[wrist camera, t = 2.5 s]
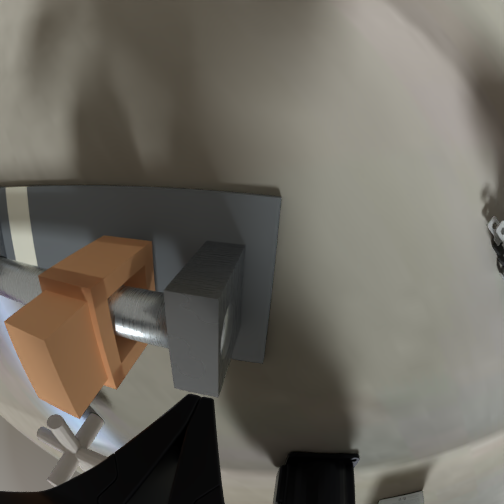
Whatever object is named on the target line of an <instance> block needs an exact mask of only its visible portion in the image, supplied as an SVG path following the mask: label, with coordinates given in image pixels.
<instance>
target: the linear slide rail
mask: <svg viewBox="0 0 504 504" xmlns="http://www.w3.org/2000/svg"><path fill="white" fill-rule="evenodd" d="M245 250H246V245H241V244H233V243H224V242H215V241H206V242H205V243H204V244H203V245H202V246H201V248H200V249H199V250H198V251H197V252H196V253H195V254H194V256H193V257H192V258H191V259H190V260H189V261H188V262H187V264H186V265H185V266H184V267H183V268H182V269H181V270H180V272H179V273H178V274H177V275H176V276H175V277H174V279H173V280H172V281H171V282H170V283H169V284H168V286H167V287H166V288H165V289H164V290H163V291H164V293H163V292H157V291H152V290H146V289H141V288H135V287H130V286H125V285H122V286H121V287H120V288H119V289H117V290H116V291H115V292H114V293H113V294H112V295H111V296H110V297H109V298H108V299H107V300H108V306H109V311H110V316H111V321H112V326H113V331H114V335H117V336H120V337H124V338H128V339H131V340H135V341H139V342H143V343H147V344H151V345H155V346H160V347H164V348H168V349H169V352H170V360H171V367H172V374H173V381H174V388H177V389H181V390H185V391H190V392H194V393H199V394H204V395H209V396H214V397H219V394H220V391H221V388H222V385H223V382H224V379H225V375H226V372H227V369H228V366H229V363H230V360H231V357H232V354H233V350H234V347H235V344H236V341H237V338H238V335H239V332H240V328H241V314H242V297H243V281H244V265H245ZM46 270H47V268H42V267H38V266H34V265H30V264H26V263H22V262H18V261H15V260H11V259H7V254H6V250H5V244H4V239H3V233H2V227H1V220H0V295H2V296H4V297H7V298H9V299H11V300H14V301H16V302H19V303H21V304H24V305H26V304H27V303H29V302H30V301H31V300H33V299H34V298H35V297H37V296H38V295H39V294H41V293H42V290H41V286H40V282H39V278H38V275H40V274H41V273H43V272H44V271H46Z"/></svg>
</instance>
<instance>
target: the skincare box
mask: <svg viewBox="0 0 504 504" xmlns="http://www.w3.org/2000/svg"><path fill="white" fill-rule="evenodd" d="M378 504H424V496H423V491H419V492H416V493H412V494H407V495H403V496H398V497H393V498H388V499H383V500H380V501H379V503H378Z"/></svg>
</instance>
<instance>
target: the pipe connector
mask: <svg viewBox="0 0 504 504" xmlns="http://www.w3.org/2000/svg"><path fill="white" fill-rule="evenodd" d="M103 424H104V421H103V420H102V419H101V418H100V417H99V416H97V415H96V414H93V413H90V415H89V416H88V418H87V419H86V421H85V422H84V424H83V425H82V426H81V428H80V429H79V431H78V432H77V434H76V435H75V436H74V434H73V433H72V431H71V430H70V428H69V427H68V425H67V424H66V422H65V421H64V419H63V418H62V417H61V416H60V415H56V414H55V415H52V416H50V417H49V418H48V420H47V426H48V427H49V428H50V430H49V429H47V428H45V427H40V428H39V429H38V431H37V437H38V439H39V440H40V441H42V442H44V443H45V444H47V445H49V446H50V447H52V448H54V449H56V450H58V451H59V452H61V453H63V455H62V457H61V458H60V460H59V461H58V463H57V465H56V466H55V468H54V469H53V471H52V472H51V474H50V476H49V477H48V479H47V481H48V482H50V483H51V484H52V485H53V486H55V487H56V486H58V485H60V484H62V483H64V482H66V481H68V480H70V479H71V477H72V475H73V473H74V472H75V470H76V468H77V467H78V465H79V467H80V468H81V469H82V470H83V471H84V472H86V471H88V470H89V469H91V468H93V467H94V466H96V465H97V464H99V463H100V462H102V461H103V460H105V459H106V458H108V457H106V456H104V455H101V454H99V453H96V452H94V451H92V450H89V447H90V445H91V444H92V442H93V440H94V439H95V437H96V436H97V434H98V432H99V431H100V429H101V427H102V426H103Z"/></svg>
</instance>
